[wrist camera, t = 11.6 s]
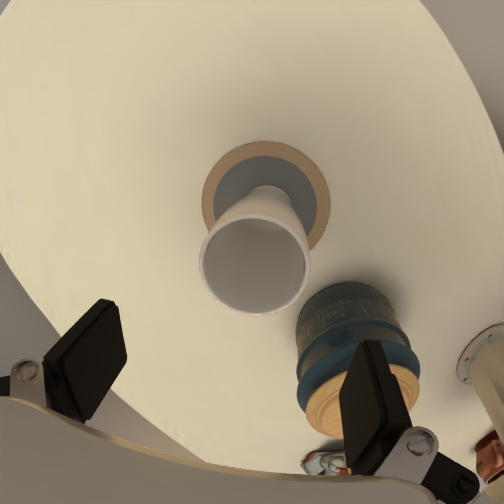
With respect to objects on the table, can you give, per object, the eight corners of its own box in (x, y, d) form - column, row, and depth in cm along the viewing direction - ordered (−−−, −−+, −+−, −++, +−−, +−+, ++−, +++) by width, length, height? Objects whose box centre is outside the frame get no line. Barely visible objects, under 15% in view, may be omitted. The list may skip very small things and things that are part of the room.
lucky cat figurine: (290, 456, 50) (302, 495, 37) (337, 424, 52) (362, 456, 38) (325, 490, 50) (342, 526, 36) (369, 460, 51) (394, 491, 37)
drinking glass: (247, 168, 30) (214, 195, 16) (309, 191, 30) (331, 237, 16) (227, 227, 32) (185, 296, 19) (286, 248, 33) (285, 331, 19)
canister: (384, 266, 34) (444, 365, 17) (394, 345, 38) (432, 444, 21) (282, 297, 36) (277, 412, 20) (308, 369, 40) (313, 475, 24)
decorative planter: (463, 440, 47) (478, 482, 35) (502, 413, 44) (521, 452, 31) (473, 457, 52) (485, 491, 39) (506, 434, 48) (520, 467, 35)
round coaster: (338, 151, 29) (340, 151, 28) (318, 271, 35) (319, 276, 33) (206, 136, 30) (203, 136, 29) (200, 256, 35) (197, 260, 34)
